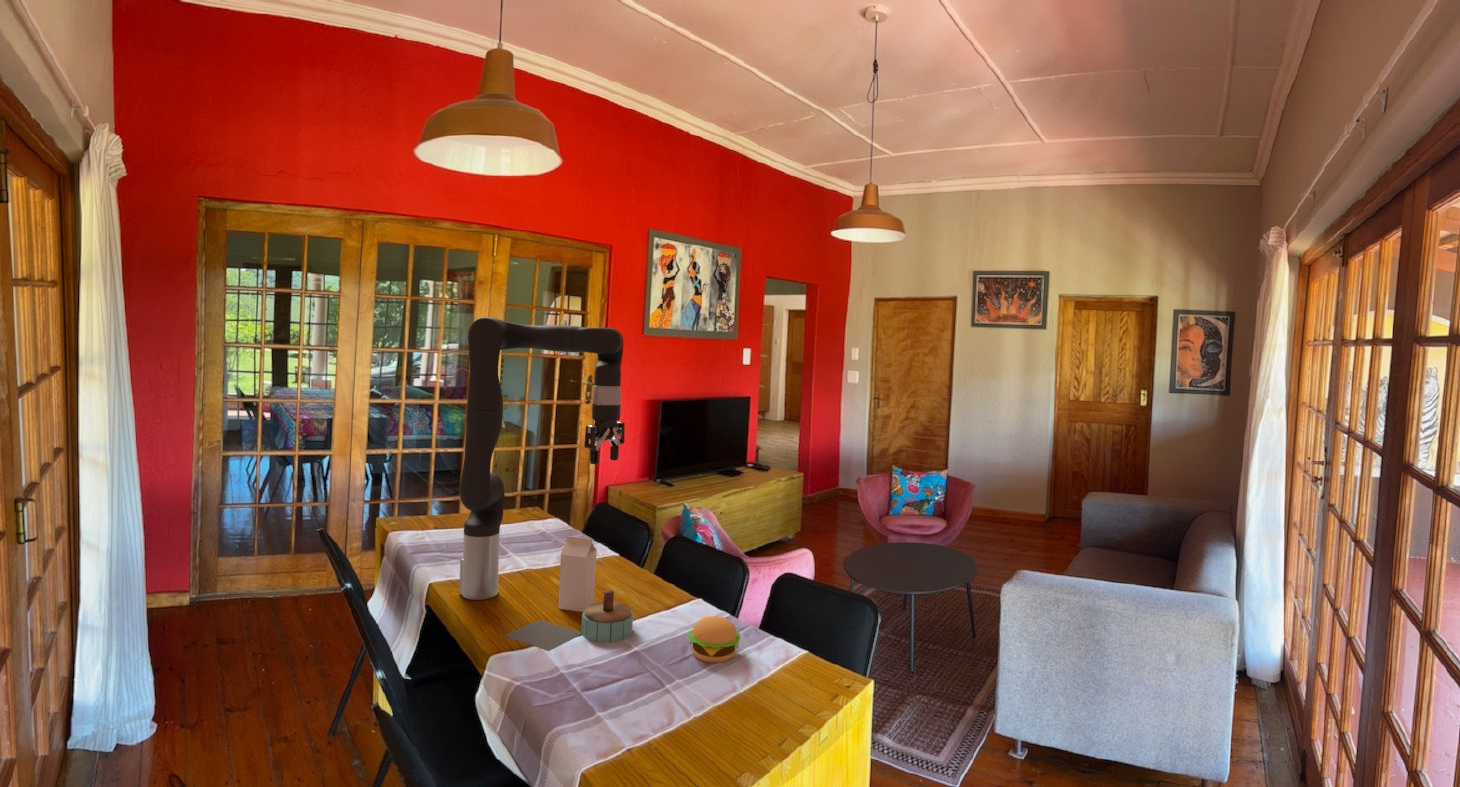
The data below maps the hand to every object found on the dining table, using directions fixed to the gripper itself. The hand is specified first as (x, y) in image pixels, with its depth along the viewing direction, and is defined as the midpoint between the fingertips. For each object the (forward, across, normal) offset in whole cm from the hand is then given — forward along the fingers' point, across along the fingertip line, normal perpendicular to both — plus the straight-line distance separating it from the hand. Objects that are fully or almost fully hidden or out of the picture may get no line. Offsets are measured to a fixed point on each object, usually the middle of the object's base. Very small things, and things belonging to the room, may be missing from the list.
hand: (604, 462), depth 196 cm
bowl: (+38, +17, +16) cm, 45 cm away
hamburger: (+38, +12, +43) cm, 59 cm away
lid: (+33, +17, +16) cm, 41 cm away
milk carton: (+38, +8, -1) cm, 39 cm away
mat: (+38, +27, +5) cm, 47 cm away
